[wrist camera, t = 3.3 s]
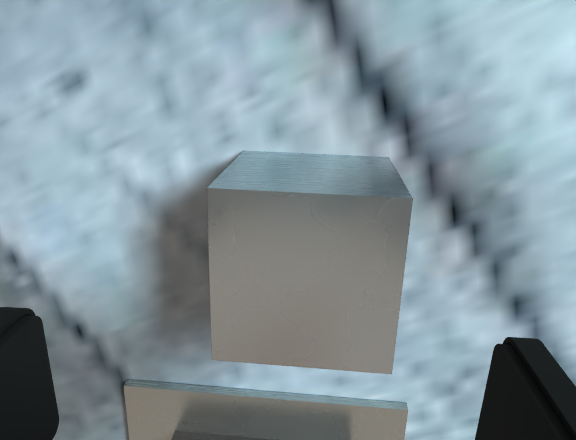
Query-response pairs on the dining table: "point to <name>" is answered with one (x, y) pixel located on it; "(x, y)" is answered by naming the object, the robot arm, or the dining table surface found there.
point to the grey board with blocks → (255, 414)
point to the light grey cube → (307, 260)
